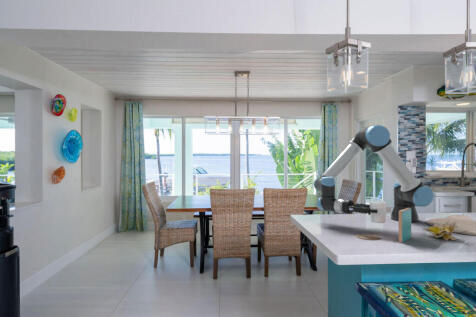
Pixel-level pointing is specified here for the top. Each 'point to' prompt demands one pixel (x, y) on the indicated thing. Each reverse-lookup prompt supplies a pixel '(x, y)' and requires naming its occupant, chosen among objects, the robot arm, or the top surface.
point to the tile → (404, 224)
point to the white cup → (377, 217)
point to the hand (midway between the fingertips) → (387, 210)
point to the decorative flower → (443, 230)
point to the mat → (422, 242)
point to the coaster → (368, 237)
